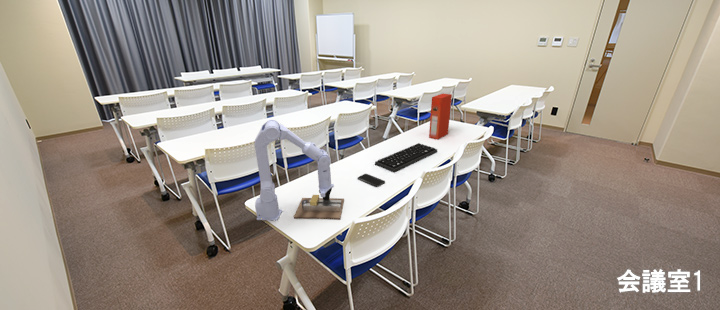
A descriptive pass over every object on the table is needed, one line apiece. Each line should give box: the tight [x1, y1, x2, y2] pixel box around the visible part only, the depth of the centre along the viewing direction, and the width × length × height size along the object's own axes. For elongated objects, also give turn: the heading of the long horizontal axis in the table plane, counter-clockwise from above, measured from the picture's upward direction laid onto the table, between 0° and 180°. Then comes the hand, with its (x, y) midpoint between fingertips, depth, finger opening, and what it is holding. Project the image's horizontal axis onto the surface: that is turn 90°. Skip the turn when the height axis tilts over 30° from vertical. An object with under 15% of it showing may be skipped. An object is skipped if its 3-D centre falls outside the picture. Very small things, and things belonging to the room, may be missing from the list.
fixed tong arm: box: [301, 199, 341, 212], centre depth 134 cm, size 18×4×4 cm, turn 87°
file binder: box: [428, 93, 453, 140], centre depth 223 cm, size 8×17×32 cm, turn 139°
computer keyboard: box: [374, 142, 438, 174], centre depth 189 cm, size 45×16×4 cm, turn 133°
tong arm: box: [309, 199, 342, 206], centre depth 136 cm, size 15×2×3 cm, turn 87°
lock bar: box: [310, 194, 320, 206], centre depth 133 cm, size 3×6×2 cm, turn 177°
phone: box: [357, 173, 386, 188], centre depth 162 cm, size 8×1×15 cm
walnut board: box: [293, 197, 345, 221], centre depth 136 cm, size 21×16×1 cm
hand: (326, 202), depth 137 cm, fingers closed
